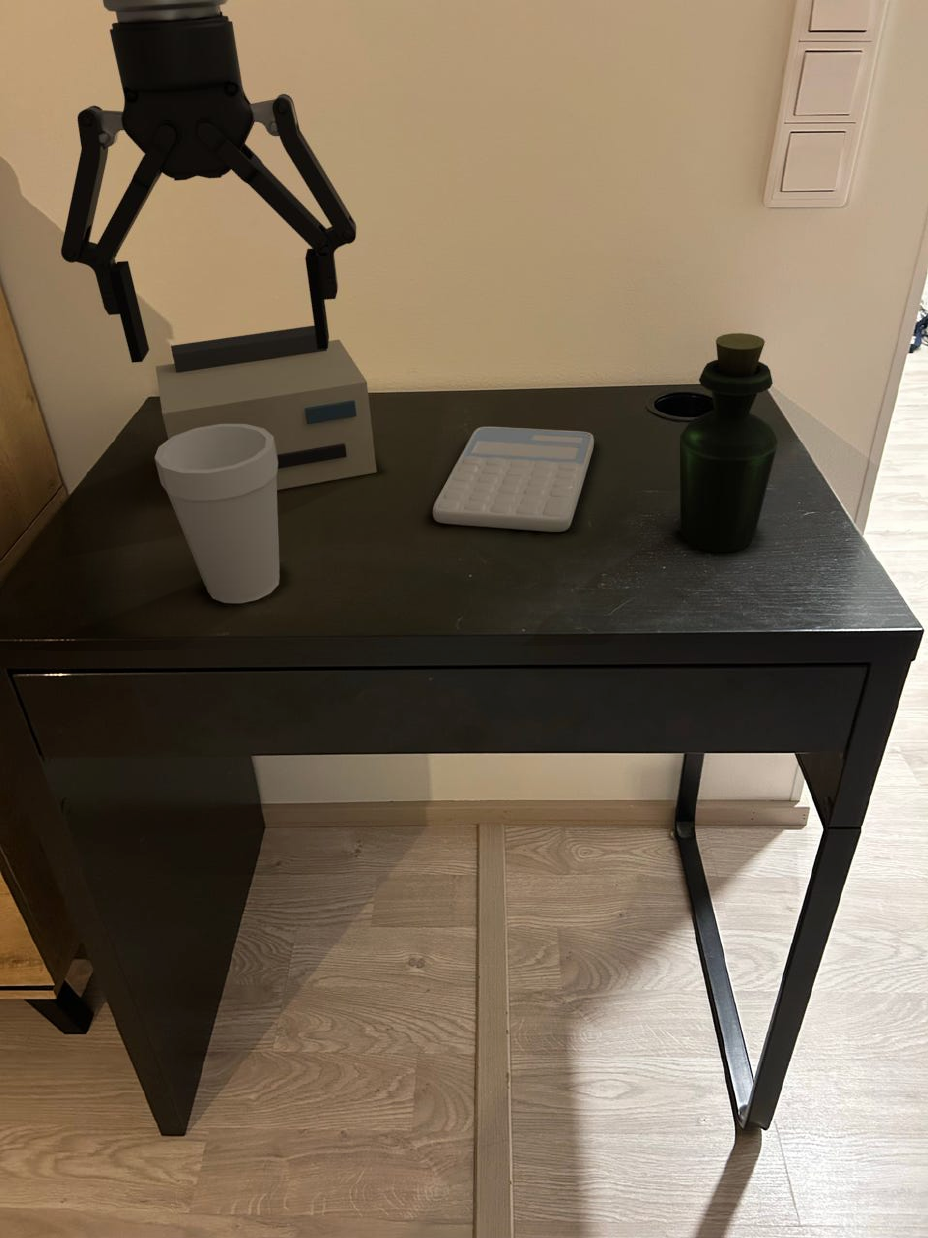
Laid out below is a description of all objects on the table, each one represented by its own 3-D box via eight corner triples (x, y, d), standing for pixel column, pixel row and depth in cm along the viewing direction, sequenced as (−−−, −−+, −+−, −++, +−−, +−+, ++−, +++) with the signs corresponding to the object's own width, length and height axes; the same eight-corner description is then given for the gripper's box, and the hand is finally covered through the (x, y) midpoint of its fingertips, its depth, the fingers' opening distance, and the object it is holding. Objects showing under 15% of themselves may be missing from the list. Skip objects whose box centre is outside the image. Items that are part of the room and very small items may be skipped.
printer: (184, 508, 96) (157, 394, 89) (176, 452, 108) (151, 347, 101) (377, 473, 101) (365, 363, 94) (349, 423, 112) (337, 321, 105)
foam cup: (319, 572, 85) (297, 436, 77) (247, 625, 79) (216, 482, 71) (240, 546, 89) (213, 416, 82) (166, 594, 83) (130, 457, 76)
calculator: (430, 525, 91) (428, 507, 90) (476, 438, 107) (475, 422, 106) (569, 535, 88) (569, 517, 87) (595, 444, 104) (596, 428, 103)
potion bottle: (763, 517, 89) (791, 326, 79) (763, 562, 83) (794, 360, 72) (674, 511, 91) (691, 323, 81) (667, 554, 85) (685, 356, 74)
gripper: (370, 0, 63) (397, 322, 75) (-15, 22, 62) (76, 344, 74) (370, 4, 57) (400, 354, 69) (-57, 29, 56) (49, 379, 68)
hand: (232, 350), depth 71 cm, fingers open, 13 cm apart
